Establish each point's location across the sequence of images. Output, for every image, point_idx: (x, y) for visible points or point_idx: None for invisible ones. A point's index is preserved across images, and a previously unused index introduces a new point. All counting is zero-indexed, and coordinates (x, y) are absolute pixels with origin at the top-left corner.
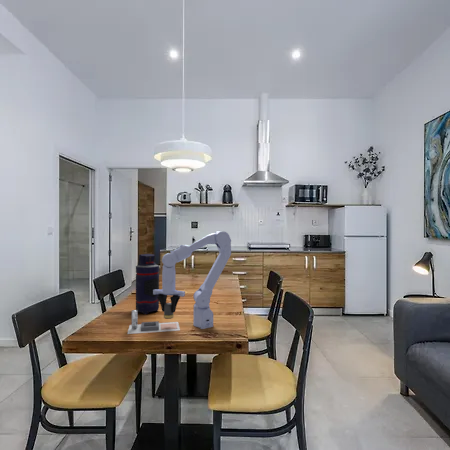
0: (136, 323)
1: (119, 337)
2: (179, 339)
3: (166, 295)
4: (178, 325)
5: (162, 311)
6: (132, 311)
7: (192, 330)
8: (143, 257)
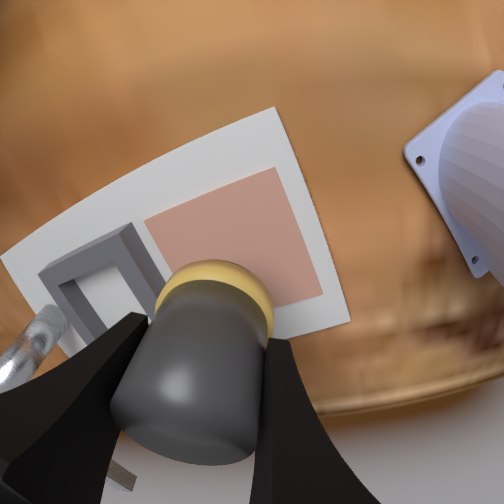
0: (53, 345)
1: None
2: (358, 395)
3: (32, 475)
4: (312, 215)
5: None
6: None
7: (430, 266)
8: None
